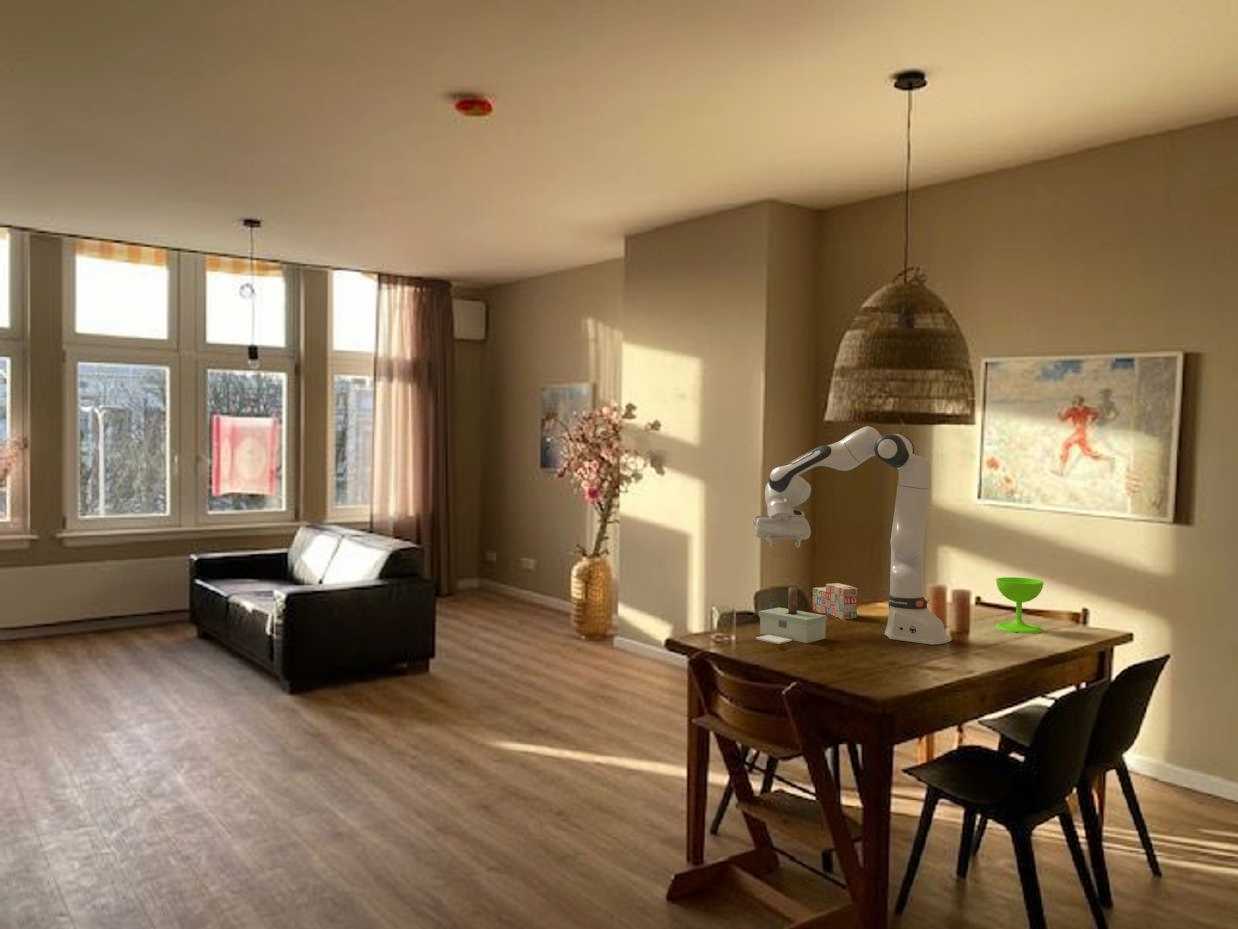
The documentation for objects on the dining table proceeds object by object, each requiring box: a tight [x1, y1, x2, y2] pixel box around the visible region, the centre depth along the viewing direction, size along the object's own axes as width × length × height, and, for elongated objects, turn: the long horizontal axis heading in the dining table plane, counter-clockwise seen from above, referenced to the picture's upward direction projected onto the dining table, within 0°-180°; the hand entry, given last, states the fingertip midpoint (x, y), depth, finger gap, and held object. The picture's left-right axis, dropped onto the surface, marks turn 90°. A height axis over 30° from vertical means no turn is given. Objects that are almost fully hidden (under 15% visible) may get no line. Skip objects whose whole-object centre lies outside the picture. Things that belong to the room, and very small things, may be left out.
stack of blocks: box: [812, 582, 858, 620], centre depth 362 cm, size 21×6×12 cm, turn 22°
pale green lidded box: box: [758, 607, 828, 644], centre depth 320 cm, size 21×12×8 cm, turn 42°
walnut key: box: [787, 586, 798, 615], centre depth 320 cm, size 3×3×11 cm
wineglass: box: [995, 576, 1044, 634], centre depth 335 cm, size 16×16×18 cm
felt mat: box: [755, 635, 793, 645], centre depth 313 cm, size 10×7×1 cm
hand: (785, 546), depth 332 cm, fingers open, 8 cm apart
